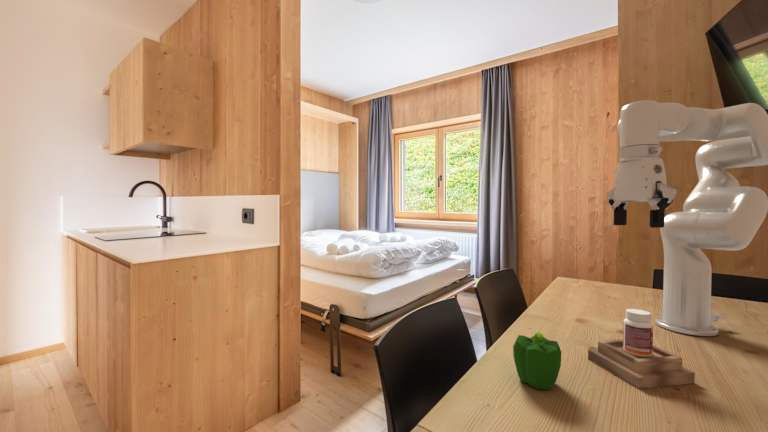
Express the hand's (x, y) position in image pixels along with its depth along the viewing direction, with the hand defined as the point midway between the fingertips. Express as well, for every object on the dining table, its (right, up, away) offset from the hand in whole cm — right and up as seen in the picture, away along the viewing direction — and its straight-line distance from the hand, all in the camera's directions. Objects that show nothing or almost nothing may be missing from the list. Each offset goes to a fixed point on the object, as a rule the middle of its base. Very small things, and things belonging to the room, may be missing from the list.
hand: (637, 226), depth 80 cm
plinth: (-10, -29, -13) cm, 33 cm away
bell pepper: (-33, -29, -17) cm, 47 cm away
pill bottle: (-10, -25, -13) cm, 30 cm away
